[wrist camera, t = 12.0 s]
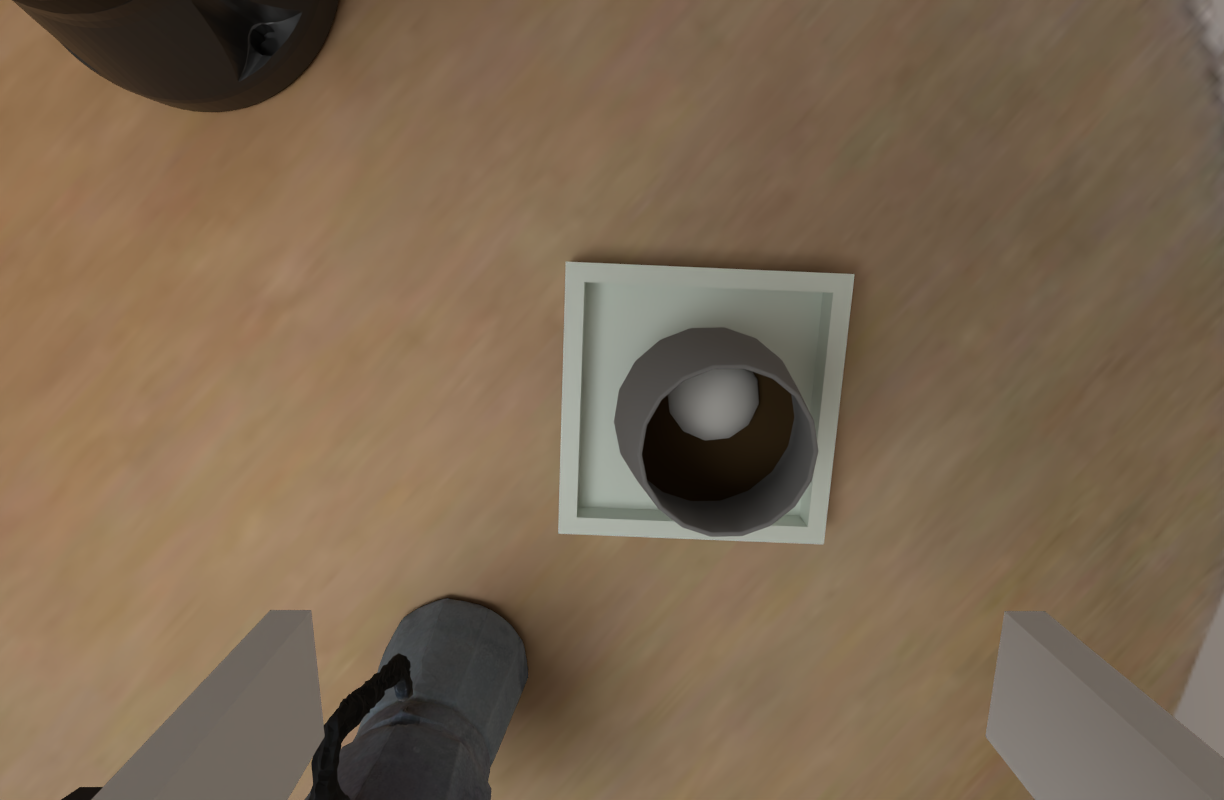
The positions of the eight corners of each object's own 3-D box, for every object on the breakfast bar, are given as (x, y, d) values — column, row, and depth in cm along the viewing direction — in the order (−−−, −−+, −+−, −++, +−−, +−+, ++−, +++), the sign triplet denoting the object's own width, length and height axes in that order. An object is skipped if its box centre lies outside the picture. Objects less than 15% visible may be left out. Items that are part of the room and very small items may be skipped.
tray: (568, 262, 36) (565, 261, 34) (838, 273, 36) (854, 274, 34) (561, 516, 39) (558, 533, 37) (810, 527, 39) (823, 544, 37)
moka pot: (403, 768, 43) (225, 1194, 23) (354, 550, 40) (100, 827, 20) (547, 752, 42) (491, 1169, 23) (509, 531, 39) (405, 792, 20)
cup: (629, 307, 36) (635, 322, 26) (795, 334, 36) (863, 358, 26) (603, 470, 38) (599, 541, 28) (761, 494, 38) (812, 573, 28)
